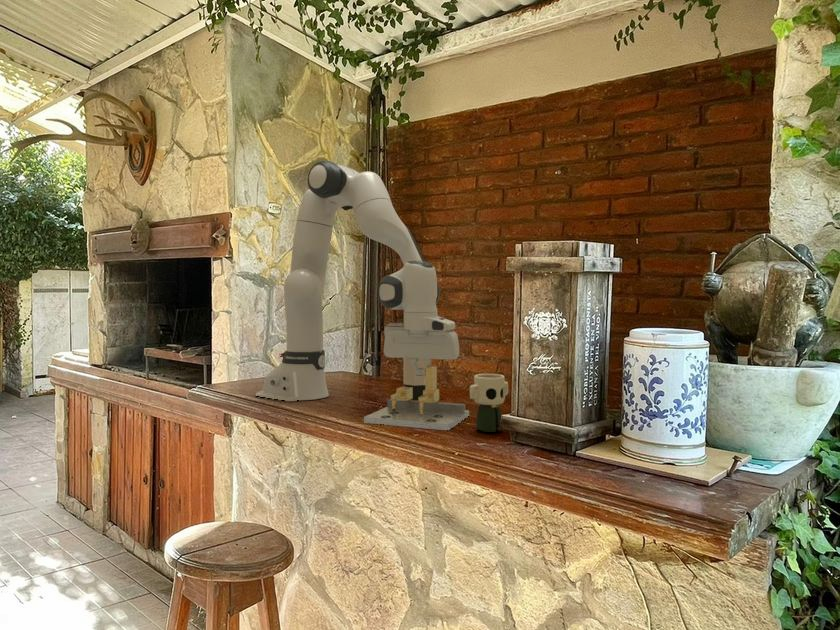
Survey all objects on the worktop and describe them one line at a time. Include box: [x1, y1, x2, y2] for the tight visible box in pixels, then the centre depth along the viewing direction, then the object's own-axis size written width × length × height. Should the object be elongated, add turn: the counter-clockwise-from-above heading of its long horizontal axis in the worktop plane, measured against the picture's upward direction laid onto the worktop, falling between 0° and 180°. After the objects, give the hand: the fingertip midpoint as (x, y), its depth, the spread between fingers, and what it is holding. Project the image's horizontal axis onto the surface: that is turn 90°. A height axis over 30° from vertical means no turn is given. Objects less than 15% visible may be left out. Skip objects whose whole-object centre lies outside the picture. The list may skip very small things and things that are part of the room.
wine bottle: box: [402, 358, 431, 400], centre depth 184 cm, size 8×8×30 cm
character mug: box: [469, 373, 509, 433], centre depth 140 cm, size 11×7×13 cm, turn 121°
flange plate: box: [363, 386, 470, 431], centre depth 153 cm, size 22×17×7 cm
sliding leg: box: [417, 365, 440, 414], centre depth 154 cm, size 3×10×11 cm, turn 159°
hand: (421, 375), depth 158 cm, fingers closed
